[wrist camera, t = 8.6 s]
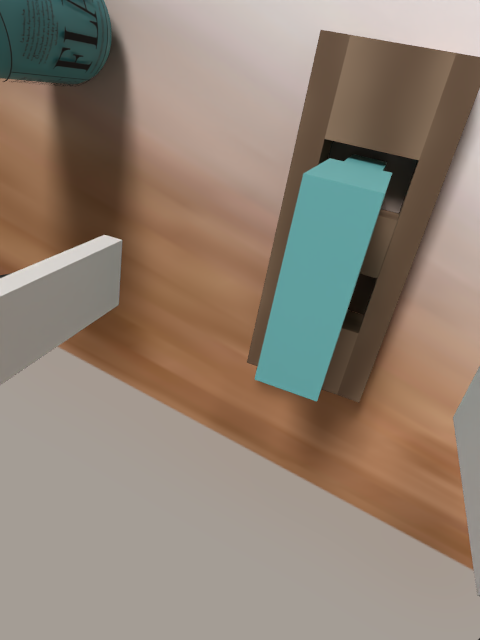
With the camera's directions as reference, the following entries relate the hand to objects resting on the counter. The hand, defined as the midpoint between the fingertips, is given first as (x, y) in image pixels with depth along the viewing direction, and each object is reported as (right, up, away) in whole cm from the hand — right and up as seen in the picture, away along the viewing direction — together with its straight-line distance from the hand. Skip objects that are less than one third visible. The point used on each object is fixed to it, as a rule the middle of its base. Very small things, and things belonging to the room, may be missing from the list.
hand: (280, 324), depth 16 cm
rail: (+6, +6, +13) cm, 15 cm away
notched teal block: (+5, +6, +13) cm, 15 cm away
